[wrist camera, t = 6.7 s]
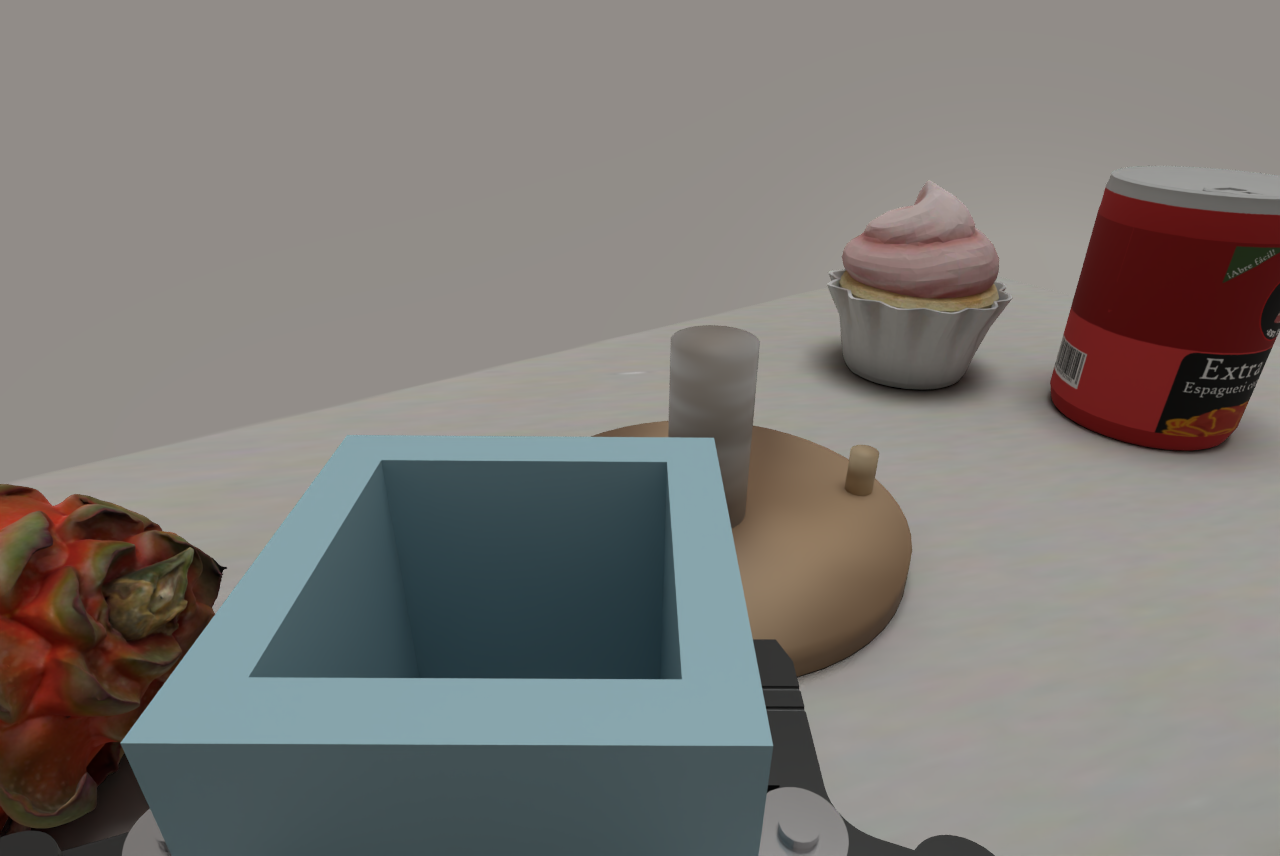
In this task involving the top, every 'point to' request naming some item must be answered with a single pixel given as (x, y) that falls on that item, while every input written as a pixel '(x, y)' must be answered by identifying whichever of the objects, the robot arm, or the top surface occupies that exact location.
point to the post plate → (789, 507)
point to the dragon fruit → (84, 643)
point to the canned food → (1173, 306)
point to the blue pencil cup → (475, 664)
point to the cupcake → (917, 293)
